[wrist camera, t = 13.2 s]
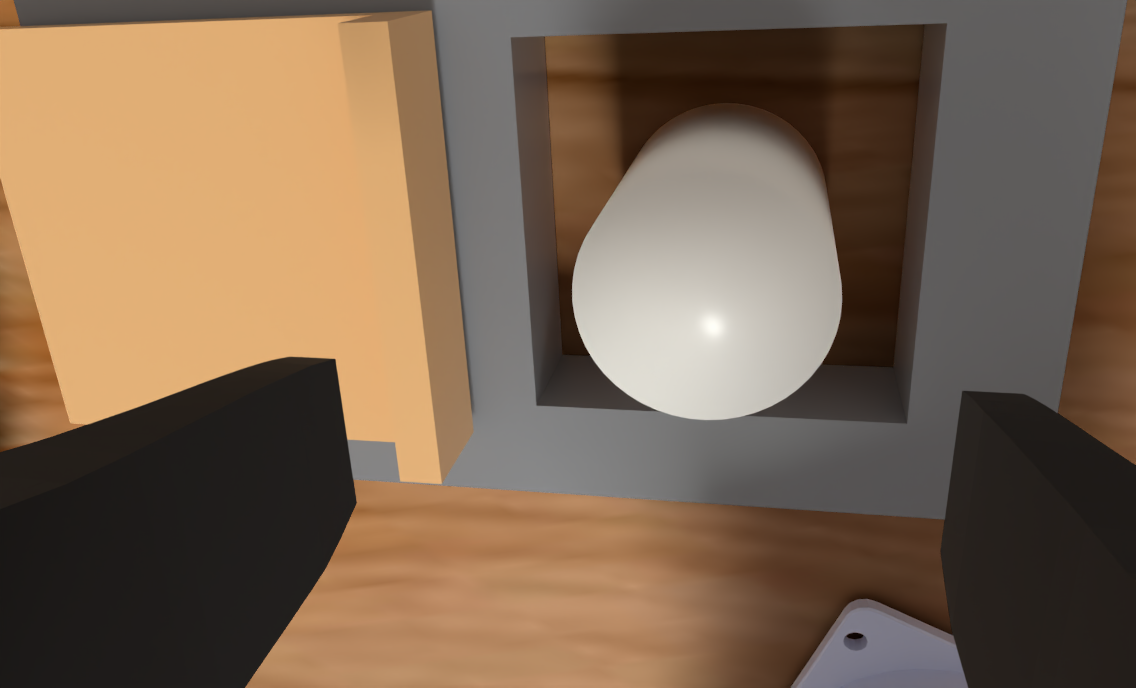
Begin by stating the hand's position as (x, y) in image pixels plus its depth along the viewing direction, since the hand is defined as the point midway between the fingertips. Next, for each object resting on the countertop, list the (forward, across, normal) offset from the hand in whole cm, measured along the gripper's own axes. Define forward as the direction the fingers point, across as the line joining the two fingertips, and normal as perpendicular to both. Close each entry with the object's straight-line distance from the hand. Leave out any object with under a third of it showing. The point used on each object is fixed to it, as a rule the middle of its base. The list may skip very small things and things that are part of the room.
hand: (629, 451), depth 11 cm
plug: (+9, -1, 0) cm, 9 cm away
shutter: (+7, +9, 0) cm, 11 cm away
